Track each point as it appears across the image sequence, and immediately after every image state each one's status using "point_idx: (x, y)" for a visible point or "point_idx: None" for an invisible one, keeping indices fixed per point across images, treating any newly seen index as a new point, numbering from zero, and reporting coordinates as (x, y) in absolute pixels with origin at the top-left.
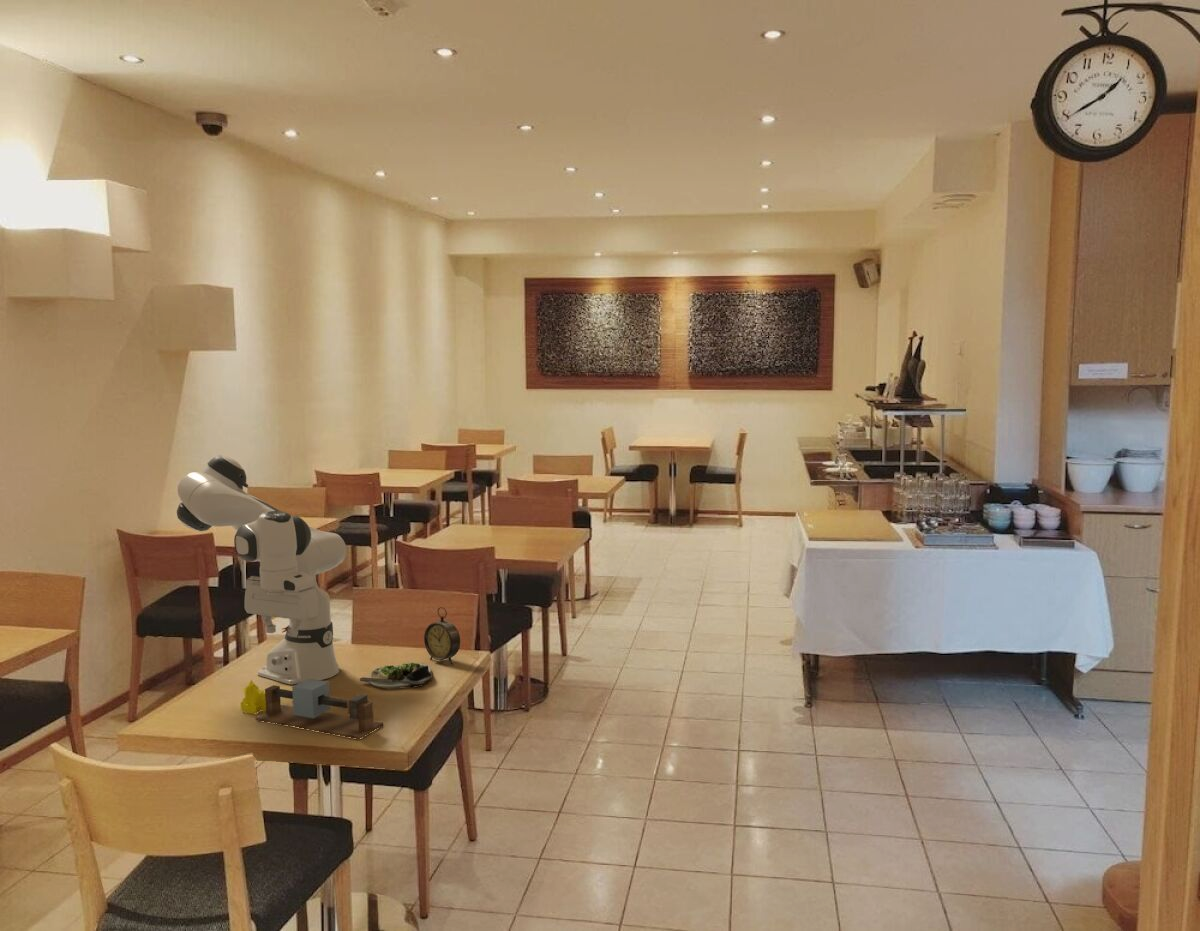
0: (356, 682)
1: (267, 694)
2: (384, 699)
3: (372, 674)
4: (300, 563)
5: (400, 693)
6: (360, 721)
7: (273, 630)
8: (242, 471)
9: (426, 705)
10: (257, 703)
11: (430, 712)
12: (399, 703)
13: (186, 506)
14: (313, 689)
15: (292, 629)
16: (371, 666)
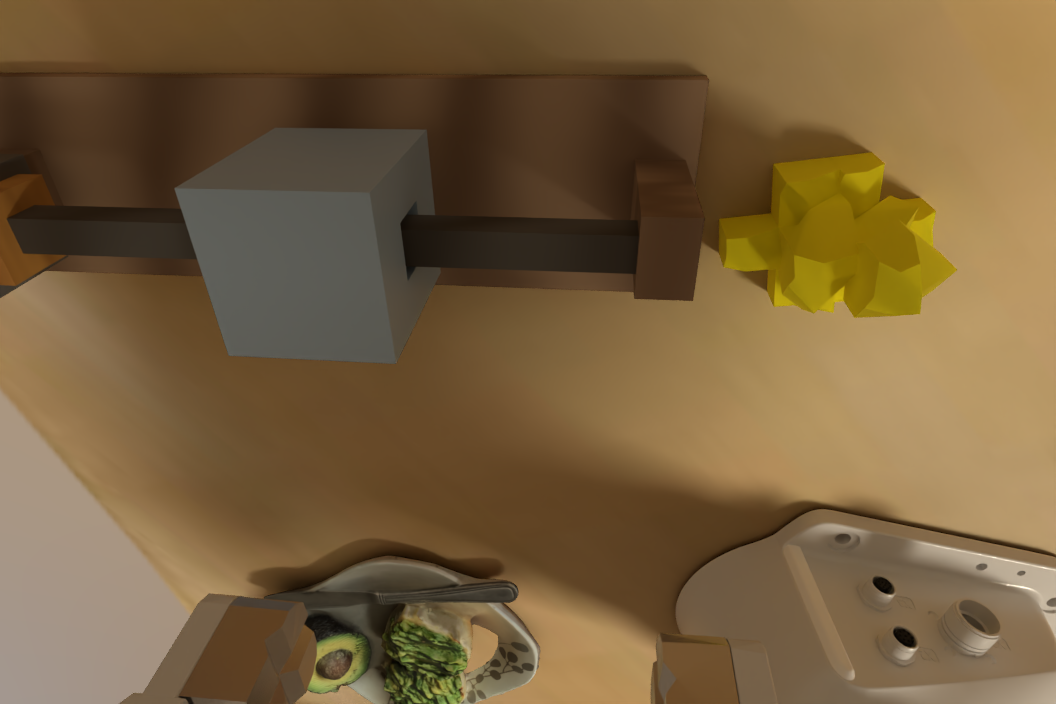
0: (545, 580)
1: (676, 203)
2: (307, 482)
3: (515, 632)
4: None
5: (303, 537)
6: None
7: (659, 694)
8: None
9: (121, 476)
10: (799, 221)
11: (46, 430)
12: (222, 467)
13: None
14: (179, 203)
15: (142, 699)
16: (600, 689)
